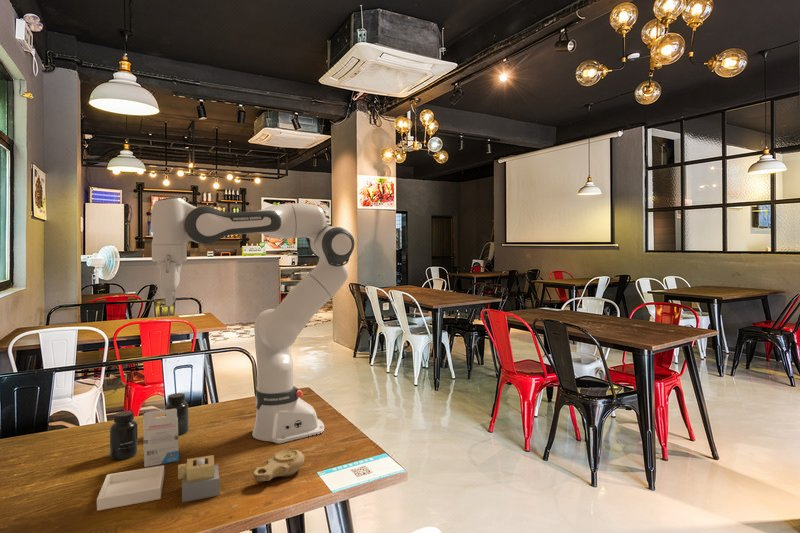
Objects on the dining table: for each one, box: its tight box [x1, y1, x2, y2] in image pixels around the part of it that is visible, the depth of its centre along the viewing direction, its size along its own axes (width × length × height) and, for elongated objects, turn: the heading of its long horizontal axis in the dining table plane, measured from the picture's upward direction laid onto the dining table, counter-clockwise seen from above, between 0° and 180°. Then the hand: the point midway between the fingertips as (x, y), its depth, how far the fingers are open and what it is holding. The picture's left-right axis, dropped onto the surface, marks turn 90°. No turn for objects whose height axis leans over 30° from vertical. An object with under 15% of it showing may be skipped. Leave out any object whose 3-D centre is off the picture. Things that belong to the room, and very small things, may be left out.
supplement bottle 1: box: [109, 410, 139, 461], centre depth 131 cm, size 7×7×12 cm
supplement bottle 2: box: [164, 392, 190, 436], centre depth 148 cm, size 7×7×12 cm
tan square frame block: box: [177, 454, 215, 482], centre depth 111 cm, size 8×6×3 cm
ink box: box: [142, 409, 180, 468], centre depth 128 cm, size 9×5×15 cm, turn 117°
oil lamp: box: [252, 449, 305, 482], centre depth 119 cm, size 11×14×5 cm
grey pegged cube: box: [181, 458, 220, 503], centre depth 112 cm, size 8×8×8 cm
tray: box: [96, 464, 165, 511], centre depth 111 cm, size 13×13×3 cm
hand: (170, 304), depth 131 cm, fingers open, 8 cm apart
